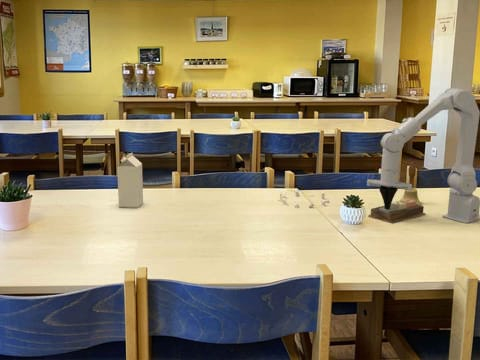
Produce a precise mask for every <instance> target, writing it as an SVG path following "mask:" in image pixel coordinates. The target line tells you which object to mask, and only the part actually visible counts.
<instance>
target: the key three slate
mask: <svg viewBox="0 0 480 360" xmlns="http://www.w3.org/2000/svg"><path fill="white" fill-rule="evenodd" d="M379 210H380V211H384V212H387V213H389V212H393V211H396V209H394V208H390V209H385V207H383V208H379Z"/></svg>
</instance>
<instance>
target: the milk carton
mask: <svg viewBox="0 0 480 360" xmlns="http://www.w3.org/2000/svg"><path fill="white" fill-rule="evenodd" d="M120 162H121V163H119V165H118V166H117V171H116V172H117V173H116V174H117V191H118V193H117V196H118V207H119V208H131V209H132V208H137V209H139V207H141V205H143V203H144V187H143V185H144V182H143V163H142V162H141V161H139V159H138V158H136V157H135V156H134V155H133V152H131V153H128V154H127V155H126V156H124V157H123V158H121V159H120Z"/></svg>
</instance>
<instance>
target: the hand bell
mask: <svg viewBox="0 0 480 360" xmlns="http://www.w3.org/2000/svg"><path fill="white" fill-rule="evenodd" d="M416 171H417V169H416V163H415V161H410V163H409V166H408V177H409V180H408V184H412V189H411V191H408V190H404V193H403V195H402V198H401V199H400V200H404V199H409V200H413V201H416V204H417V205H421V206H422V201H420V199H419V195H418V190H417V188H415V183H414V182H415V181H414V180H415V177H416V176H415V175H416ZM400 200H398V202H400Z"/></svg>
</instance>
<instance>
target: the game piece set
mask: <svg viewBox="0 0 480 360" xmlns="http://www.w3.org/2000/svg"><path fill="white" fill-rule="evenodd" d="M287 193H288V190H285V193H284V194H283V193H282V192H280V193H279V199H277V201H278V202H281V203H283V205H287V203H288V201H287V199H288V197H287V196H286V194H287ZM294 193H295V197H299V195H300V192H299V189H298V188H295V189H294ZM314 195H315V193H312V194H310V195H309V197H310V198H313V197H314ZM320 195H321V196H320V197H321V201H320V202H321V205H320V206H321V207H327V205H326V203H330V200H329V198H328V197H327V198H326V200H325V191H322V192H320ZM299 204H300V203H299V202H295V203H294V208H296V209H298V208H300V205H299ZM314 206H315V205H314V201H312V202H310V203H309V204H308V207H310V208H311V209H313V207H314Z"/></svg>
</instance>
